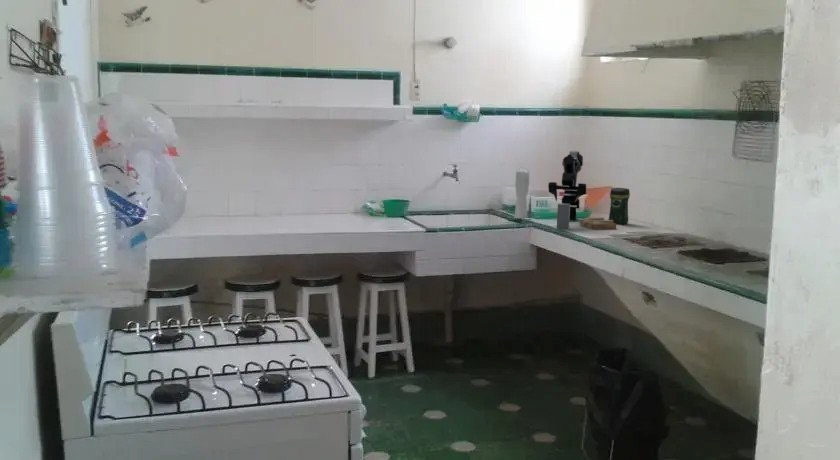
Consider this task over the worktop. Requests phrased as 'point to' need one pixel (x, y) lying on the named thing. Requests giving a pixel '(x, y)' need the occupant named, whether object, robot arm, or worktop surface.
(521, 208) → the white waisted cylinder
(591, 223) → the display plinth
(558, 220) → the tall grey pillar block
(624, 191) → the coffee jar
